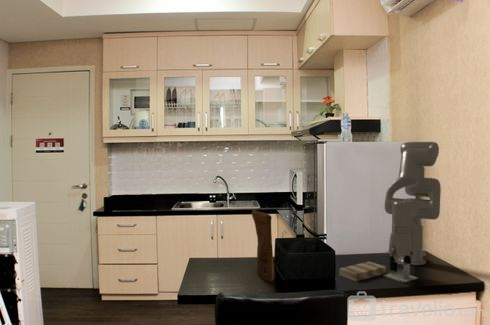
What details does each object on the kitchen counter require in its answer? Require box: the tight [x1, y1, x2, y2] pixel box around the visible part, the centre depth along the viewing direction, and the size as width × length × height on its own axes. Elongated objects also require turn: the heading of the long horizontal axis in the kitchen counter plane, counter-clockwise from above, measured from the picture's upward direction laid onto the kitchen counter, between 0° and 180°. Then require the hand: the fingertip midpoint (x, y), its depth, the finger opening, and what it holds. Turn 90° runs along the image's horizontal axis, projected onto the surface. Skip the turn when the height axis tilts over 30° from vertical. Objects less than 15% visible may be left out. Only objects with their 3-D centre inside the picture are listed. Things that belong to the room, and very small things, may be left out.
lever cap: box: [390, 259, 411, 279], centre depth 154 cm, size 4×6×6 cm
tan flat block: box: [338, 261, 387, 282], centre depth 157 cm, size 20×9×3 cm, turn 123°
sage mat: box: [382, 272, 419, 283], centre depth 154 cm, size 10×10×1 cm
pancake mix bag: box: [251, 209, 275, 283], centre depth 154 cm, size 7×19×28 cm, turn 15°
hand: (400, 268), depth 154 cm, fingers open, 9 cm apart
